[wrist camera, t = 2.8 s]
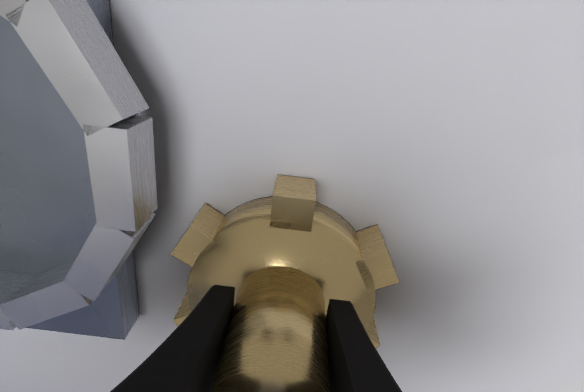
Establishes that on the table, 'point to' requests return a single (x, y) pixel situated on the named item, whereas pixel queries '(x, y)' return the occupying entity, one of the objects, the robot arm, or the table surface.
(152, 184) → the carrier plate
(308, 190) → the planet gear
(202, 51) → the table surface
